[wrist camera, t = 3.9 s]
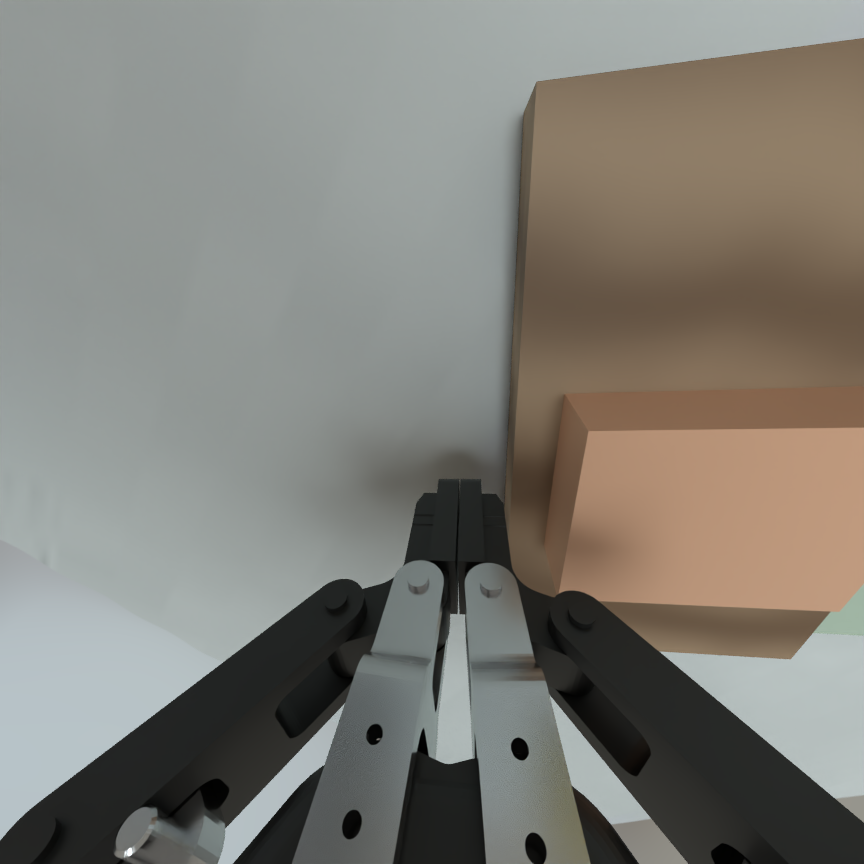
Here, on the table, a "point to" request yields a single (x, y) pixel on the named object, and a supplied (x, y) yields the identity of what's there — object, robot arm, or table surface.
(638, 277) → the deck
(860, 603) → the mat
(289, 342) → the table surface
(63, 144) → the table surface
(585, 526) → the tile
